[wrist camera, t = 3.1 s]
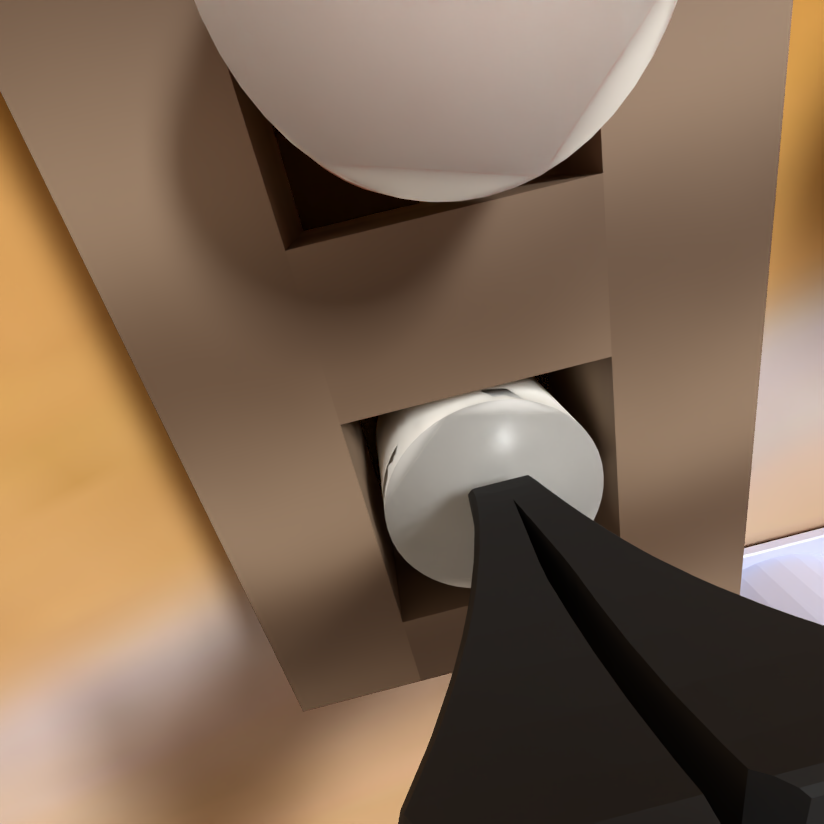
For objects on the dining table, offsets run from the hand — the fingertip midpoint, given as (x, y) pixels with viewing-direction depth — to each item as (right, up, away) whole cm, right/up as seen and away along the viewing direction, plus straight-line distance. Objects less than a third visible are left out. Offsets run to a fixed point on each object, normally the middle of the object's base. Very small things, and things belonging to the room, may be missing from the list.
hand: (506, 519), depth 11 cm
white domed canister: (0, +2, +4) cm, 4 cm away
